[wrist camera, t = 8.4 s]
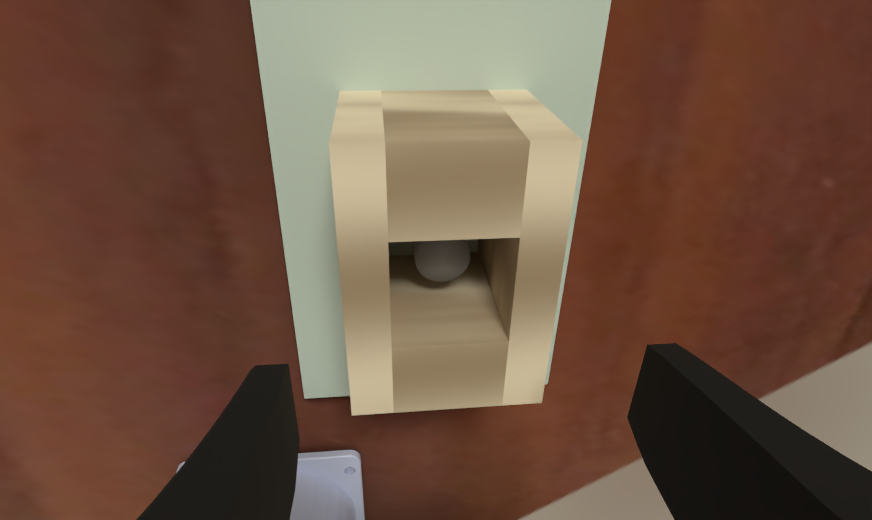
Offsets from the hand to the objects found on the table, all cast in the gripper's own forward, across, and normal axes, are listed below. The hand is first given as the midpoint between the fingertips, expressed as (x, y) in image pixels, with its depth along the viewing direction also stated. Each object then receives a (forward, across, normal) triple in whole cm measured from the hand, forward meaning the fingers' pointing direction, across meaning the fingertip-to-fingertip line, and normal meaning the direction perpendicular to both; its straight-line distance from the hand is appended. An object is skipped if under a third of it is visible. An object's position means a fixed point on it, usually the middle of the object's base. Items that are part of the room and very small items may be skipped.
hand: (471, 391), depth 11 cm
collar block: (+8, 0, 0) cm, 8 cm away
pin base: (+9, 0, 0) cm, 9 cm away
